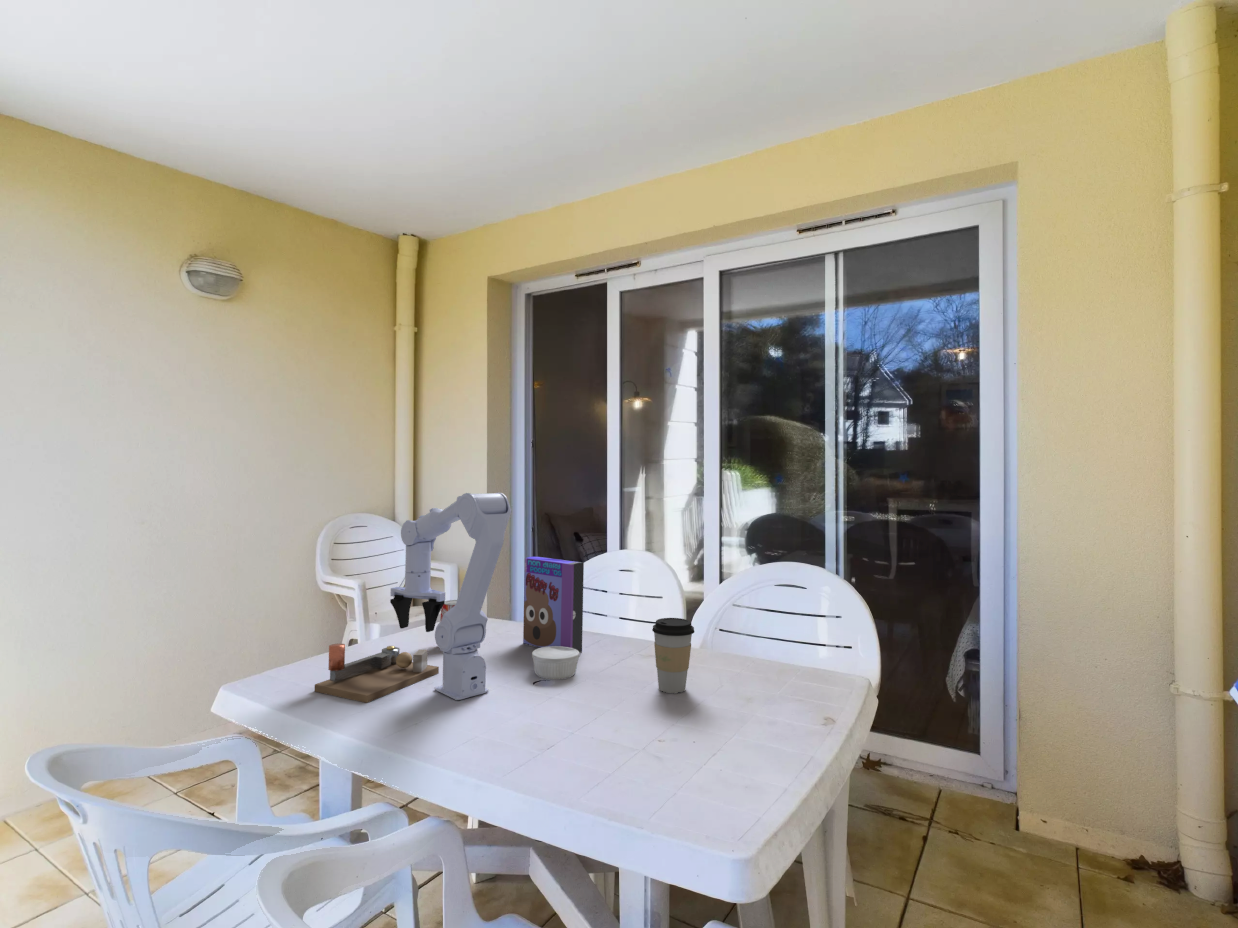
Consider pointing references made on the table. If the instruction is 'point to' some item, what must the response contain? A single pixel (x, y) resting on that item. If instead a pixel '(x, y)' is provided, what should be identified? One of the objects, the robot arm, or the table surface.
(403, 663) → the walnut
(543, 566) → the cereal box
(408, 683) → the board
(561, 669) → the ramekin
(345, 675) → the lever
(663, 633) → the coffee cup
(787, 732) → the table surface
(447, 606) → the soda can
